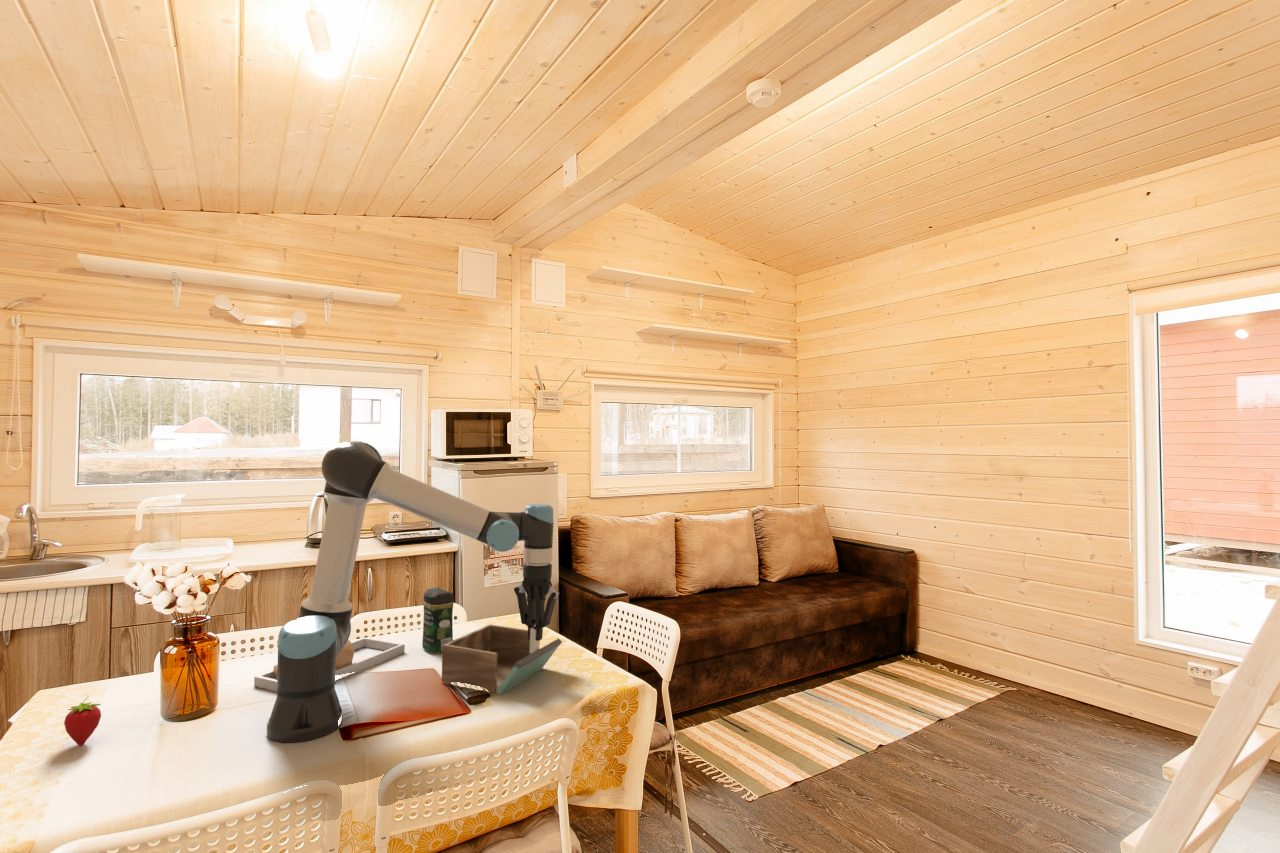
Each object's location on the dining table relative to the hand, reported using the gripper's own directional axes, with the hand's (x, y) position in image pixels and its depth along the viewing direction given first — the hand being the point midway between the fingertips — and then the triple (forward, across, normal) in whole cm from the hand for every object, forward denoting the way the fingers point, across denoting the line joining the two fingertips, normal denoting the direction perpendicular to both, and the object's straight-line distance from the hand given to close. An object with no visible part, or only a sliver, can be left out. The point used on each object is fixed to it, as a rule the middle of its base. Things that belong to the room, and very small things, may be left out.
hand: (534, 651), depth 172 cm
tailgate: (+8, +3, 0) cm, 9 cm away
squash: (+10, +58, +18) cm, 61 cm away
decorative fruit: (+11, +69, +67) cm, 96 cm away
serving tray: (+10, +58, +12) cm, 60 cm away
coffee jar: (+10, +42, -13) cm, 45 cm away
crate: (+9, +12, 0) cm, 16 cm away
